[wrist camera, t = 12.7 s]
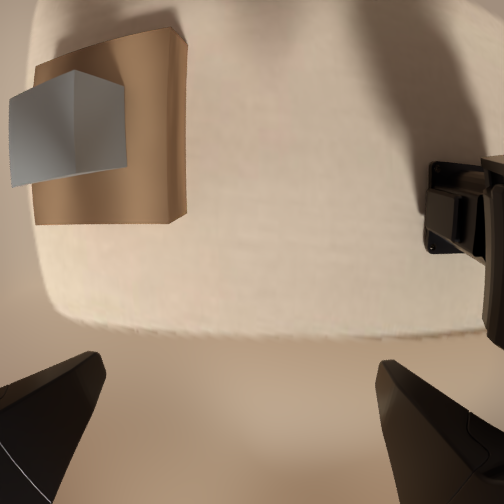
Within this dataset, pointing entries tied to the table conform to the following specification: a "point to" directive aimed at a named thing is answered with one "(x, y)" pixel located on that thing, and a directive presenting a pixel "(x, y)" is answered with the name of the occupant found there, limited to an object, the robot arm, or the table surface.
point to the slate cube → (66, 129)
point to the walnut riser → (128, 135)
